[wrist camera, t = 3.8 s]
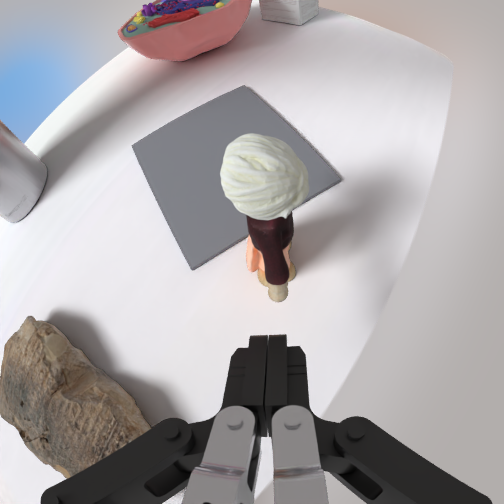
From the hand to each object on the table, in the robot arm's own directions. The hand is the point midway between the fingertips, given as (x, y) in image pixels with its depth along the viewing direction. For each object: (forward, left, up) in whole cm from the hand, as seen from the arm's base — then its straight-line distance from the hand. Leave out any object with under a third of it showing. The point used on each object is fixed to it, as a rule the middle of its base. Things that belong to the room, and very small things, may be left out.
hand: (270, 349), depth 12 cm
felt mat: (-16, +5, -8) cm, 19 cm away
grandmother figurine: (-5, +3, -8) cm, 10 cm away
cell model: (-39, +12, -8) cm, 42 cm away
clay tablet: (-2, -19, -8) cm, 21 cm away
